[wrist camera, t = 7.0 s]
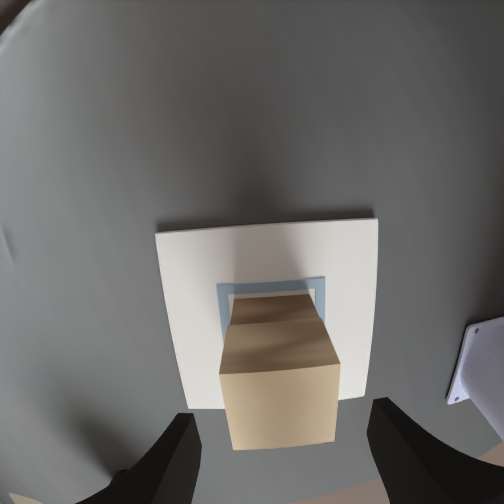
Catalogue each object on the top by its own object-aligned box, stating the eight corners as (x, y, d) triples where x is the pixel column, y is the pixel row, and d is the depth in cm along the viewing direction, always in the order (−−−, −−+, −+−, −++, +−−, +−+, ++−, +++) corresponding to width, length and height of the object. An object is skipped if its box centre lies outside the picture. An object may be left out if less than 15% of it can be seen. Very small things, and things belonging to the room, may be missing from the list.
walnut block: (309, 293, 19) (322, 324, 15) (309, 356, 20) (319, 394, 16) (233, 298, 19) (228, 330, 15) (240, 361, 20) (237, 400, 16)
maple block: (321, 317, 15) (340, 363, 11) (320, 389, 16) (334, 441, 12) (227, 325, 15) (218, 374, 11) (237, 396, 16) (233, 450, 12)
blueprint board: (374, 217, 18) (378, 219, 18) (361, 391, 21) (364, 396, 21) (157, 232, 19) (154, 234, 18) (189, 403, 22) (188, 409, 21)
